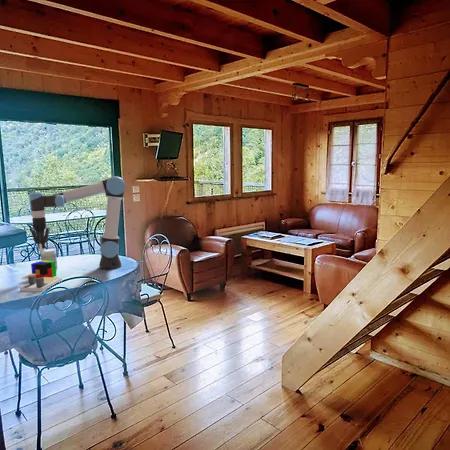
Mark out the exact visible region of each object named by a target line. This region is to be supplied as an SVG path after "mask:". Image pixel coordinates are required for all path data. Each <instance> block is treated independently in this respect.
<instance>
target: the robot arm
mask: <svg viewBox="0 0 450 450" xmlns="http://www.w3.org/2000/svg"><path fill="white" fill-rule="evenodd" d="M125 189H126V181H125V180H124V179H123V178H122V177H120V176H118V175H113V176H111V177H108V178H106V179H103V180H101V181H100V182H97V183H93V184H89V185H86V186H82V187H77V188H74V189H70V190H66V191H62V192H58V193H54V194H51V195H44V193H43V192H31V193H30V195H29V199H30V200H29V201H30V210H31V217H32V219H31V220H32V224H33V225H32V226H31V227H30V228H29V229H28V230H29V231H30V233H31V236H32V238H33V241H34V243H35V244H37V247H38V249H39V254H40V255H41V254H44V253H45V252H44V250H45V249H46V243H48V241H49V234H50V230H51V227H48V226H47V223H46V221H47V220H46V210H45V208H61V207H65V204H66V203H68V204H69V203H71V202H74V201H79V200H84V199H87V198H90V197H94V196H98V195H102V194H104V195H105V197H106V198H107V202H106V203H107V204H106V211H105V212H106V214H105V221H104V223H105V224H104V231H103V234H102V235H100V236H99V241H100V243H99V244H100V246H99V247H100V248H99V251H100V255H101V257H100V261H99V265H98V267H99V269H100V270H115V269H119V268H121V267H122V261H121V259H120V256H119V252H120V247H119V246H120V236H119V235H118V234H119V233H118V232H119V223H120V211H121V204H122V203H121V201H122V200H123V199H124V197H125Z"/></svg>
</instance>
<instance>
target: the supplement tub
mask: <svg viewBox="0 0 450 450" xmlns="http://www.w3.org/2000/svg"><path fill="white" fill-rule="evenodd" d="M44 252H45V253H44V254H40V259H41V260H40V261H43V260H46V261H55V265H56V272H57V271H58V259H57V251H56V249H55V248H49V249H48V248H47V249H46V248H45V249H44Z"/></svg>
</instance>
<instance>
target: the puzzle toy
mask: <svg viewBox="0 0 450 450" xmlns="http://www.w3.org/2000/svg"><path fill="white" fill-rule="evenodd" d="M30 266H31V274H36V279H37V278H41V277H42V278H43V277H57V271H56V265H55V261H46V260H43V261H42V260H40V261H36V262H32V263H31V264H30Z"/></svg>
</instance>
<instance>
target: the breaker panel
mask: <svg viewBox="0 0 450 450" xmlns="http://www.w3.org/2000/svg"><path fill="white" fill-rule="evenodd" d="M41 278H42V277H41ZM43 278H44V286H42V287H36V283H34V284H29V283H27V284H25V285H23V286H21V287H19V291H20V292H45V291H47V290H48V289H47V288H48V287H50V286H52V285H53V284H55V283H57V282H59V281H61V280H62V281H63V277H57V276H55V277H43ZM62 281H61V282H62ZM59 283H60V282H59ZM52 287H53V286H52ZM50 288H51V287H50ZM46 289H47V290H46ZM44 290H45V291H44Z"/></svg>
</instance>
